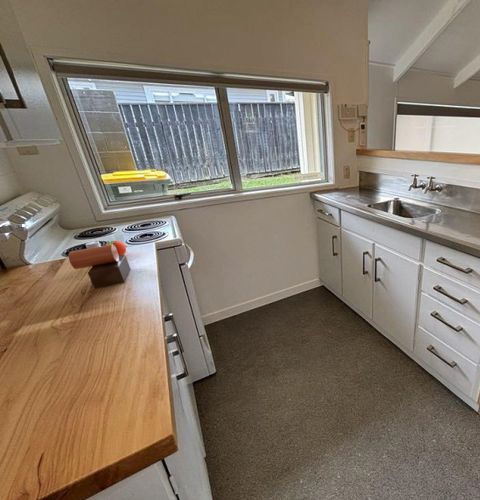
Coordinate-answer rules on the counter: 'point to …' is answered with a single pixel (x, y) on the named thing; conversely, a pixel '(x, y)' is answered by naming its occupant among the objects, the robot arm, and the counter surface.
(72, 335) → the counter surface
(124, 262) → the walnut block
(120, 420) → the counter surface
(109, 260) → the cup
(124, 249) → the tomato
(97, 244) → the supplement bottle
